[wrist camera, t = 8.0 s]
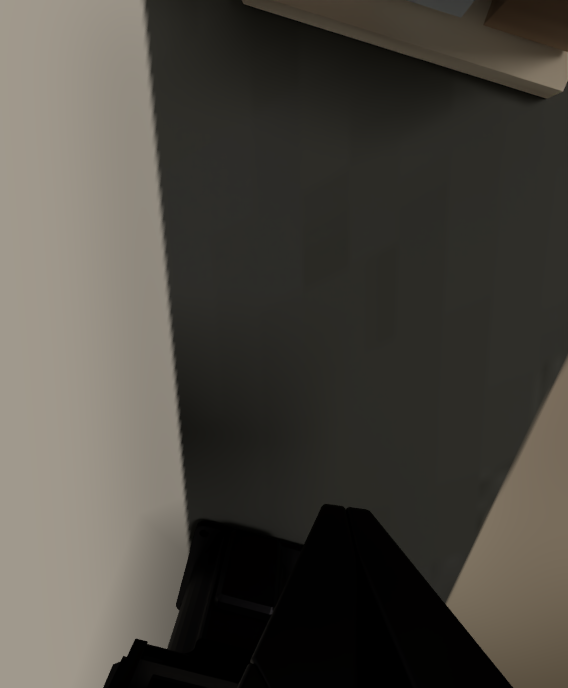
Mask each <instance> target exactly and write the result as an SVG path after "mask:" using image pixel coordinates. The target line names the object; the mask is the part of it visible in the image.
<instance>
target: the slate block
mask: <svg viewBox="0 0 568 688" xmlns="http://www.w3.org/2000/svg"><path fill="white" fill-rule="evenodd" d="M407 1H410V2H413V3H416V4H419V5H422V6H426V7H429V8H432V9H435V10H438V11H441V12H445V13H448V14H451V15H454V16H457V17H460V18H461V17H462V16H463V15H464V13H465V12H466V11H467V10H468V8H469V7H470V6H471V4H472V3H473V2H474V1H475V0H407Z"/></svg>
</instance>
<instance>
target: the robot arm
mask: <svg viewBox="0 0 568 688" xmlns="http://www.w3.org/2000/svg"><path fill="white" fill-rule="evenodd" d="M203 530H206V531H208V532H204V531H203ZM176 607H177V609H178V610H179V614H178V617H177V620H176V623H175V626H174V629H173V633H172V636H171V639H170V642H169V645H168V648H167V649H164V648H161V647H157V646H152V645H149V644H147V641H143V640H139V639H135V641H134V643H133V645H132V647H131V649H130V652H129V654H128V656H127V657H125V656H123V658H122V660H121V662H118V663H116V664H113V666H112V669H111V671H110V673H109V676H108V678H107V680H106V682H105V685H104V687H103V688H513V687H512V686H511V685H510V683H509V682H508V681H507V680H506V678H505V677H504V676H503V675H502V673H501V672H500V671H499V670H498V668H497V667H496V666H495V665H494V663H493V662H492V661H491V660H490V659H489V657H488V656H487V655H486V654H485V653H484V651H483V650H482V649H481V647H480V646H479V645H478V644H477V643H476V641H475V640H474V639H473V638H472V636H471V635H470V634H469V633H468V632H467V630H466V629H465V628H464V626H463V625H462V624H461V623H460V622H459V621H458V619H457V618H456V617H455V616H454V614H453V613H452V612H451V610H450V609H449V608H448V607H447V606H446V604H445V603H444V602H443V601H442V599H441V598H440V597H439V596H438V594H437V593H436V592H435V591H434V589H433V588H432V587H431V586H430V585H429V583H428V582H427V581H426V580H425V578H424V577H423V576H422V575H421V573H420V572H419V571H418V570H417V569H416V567H415V566H414V565H413V564H412V562H411V561H410V560H409V559H408V557H407V556H406V555H405V554H404V552H403V551H402V550H401V549H400V548H399V546H398V545H397V544H396V543H395V541H394V540H393V539H392V538H391V536H390V535H389V534H388V533H387V532H386V530H385V529H384V528H383V527H382V525H381V524H380V523H379V522H378V520H377V519H376V518H375V517H374V515H373V514H372V513H371V512H370V511H369V510H366V509H360V508H352V507H348V508H347V509H345V508H344V507H343V506H337V505H330V504H324V505H323V506H322V507H321V509H320V511H319V514H318V516H317V518H316V520H315V522H314V524H313V526H312V529H311V531H310V533H309V535H308V537H307V539H306V541H305V544H304V546H300V545H296V544H293V543H289V542H285V541H281V540H277V539H274V538H270V537H266V536H262V535H259V534H255V533H251V532H247V531H243V530H240V529H236V528H232V527H228V526H225V525H221V524H217V523H213V522H210V521H201V522H199V523H198V525H197V527H196V530H195V534H194V537H193V541H192V545H191V549H190V553H189V557H188V561H187V564H186V568H185V572H184V576H183V580H182V583H181V587H180V591H179V595H178V599H177V603H176Z"/></svg>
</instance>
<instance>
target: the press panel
mask: <svg viewBox="0 0 568 688" xmlns="http://www.w3.org/2000/svg"><path fill="white" fill-rule="evenodd" d="M242 2H243V4H245V5H248V6H251V7H254V8H258V9H261V10H264V11H267V12H271V13H274V14H277V15H280V16H283V17H287V18H290V19H293V20H296V21H299V22H303V23H306V24H309V25H312V26H315V27H319V28H322V29H325V30H328V31H331V32H335V33H338V34H341V35H344V36H347V37H351V38H354V39H357V40H360V41H363V42H367V43H370V44H373V45H376V46H379V47H383V48H386V49H389V50H392V51H396V52H399V53H402V54H405V55H408V56H412V57H415V58H418V59H421V60H424V61H428V62H431V63H434V64H437V65H440V66H444V67H447V68H450V69H453V70H456V71H460V72H463V73H466V74H469V75H472V76H476V77H479V78H482V79H485V80H488V81H492V82H495V83H498V84H501V85H504V86H508V87H511V88H514V89H517V90H521V91H524V92H527V93H530V94H533V95H537V96H540V97H543V98H546V99H548V98H550V97H552V96H554V95H556V94H558V93H560V92H563V90H564V88H565V85H566V83H567V81H568V52H566V51H563V50H560V49H557V48H554V47H550V46H547V45H544V44H541V43H538V42H535V41H531V40H528V39H525V38H522V37H519V36H516V35H513V34H509V33H506V32H503V31H500V30H497V29H494V28H490V27H487V26H484V25H483V24H484V21H485V19H486V16H487V13H488V10H489V8H490V5H491V2H492V0H475V1H474V2H473V3H472V4H471V6H470V7H469V8H468V10H467V11H466V12H465V13H464V15H463V16H462V17H461V18H460V17H457V16H454V15H451V14H448V13H445V12H441V11H438V10H435V9H432V8H429V7H426V6H422V5H419V4H416V3H413V2H410V1H407V0H242Z"/></svg>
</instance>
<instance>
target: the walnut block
mask: <svg viewBox="0 0 568 688" xmlns="http://www.w3.org/2000/svg"><path fill="white" fill-rule="evenodd" d="M483 25H484V26H487V27H490V28H494V29H497V30H500V31H503V32H506V33H509V34H513V35H516V36H519V37H522V38H525V39H528V40H531V41H535V42H538V43H541V44H544V45H547V46H550V47H554V48H557V49H560V50H563V51H566V52H568V0H492V2H491V5H490V8H489V10H488V13H487V16H486V19H485V21H484V24H483Z"/></svg>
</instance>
